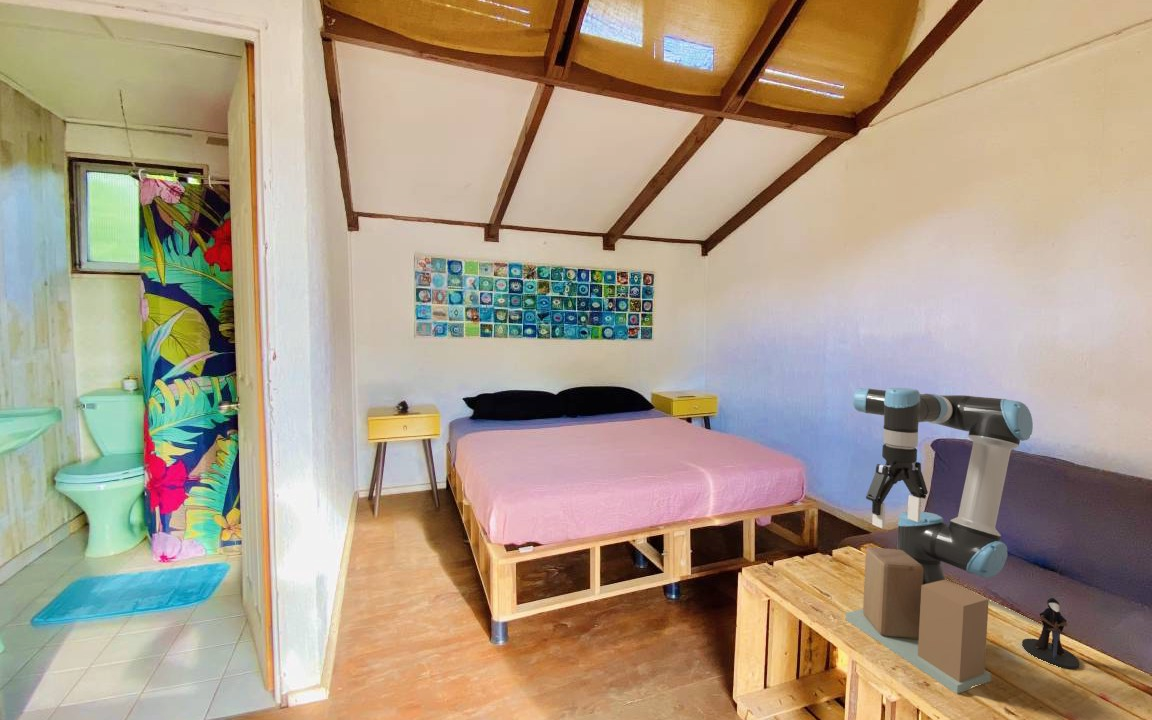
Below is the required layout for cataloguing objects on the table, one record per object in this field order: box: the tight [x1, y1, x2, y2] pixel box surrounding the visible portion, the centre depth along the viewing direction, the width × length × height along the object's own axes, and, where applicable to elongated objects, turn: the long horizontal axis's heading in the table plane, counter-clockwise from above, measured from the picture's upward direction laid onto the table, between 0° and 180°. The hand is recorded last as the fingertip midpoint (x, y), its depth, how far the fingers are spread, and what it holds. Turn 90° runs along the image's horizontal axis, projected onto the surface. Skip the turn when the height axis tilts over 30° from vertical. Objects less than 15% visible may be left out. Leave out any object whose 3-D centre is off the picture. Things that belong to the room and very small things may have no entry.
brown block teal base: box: [845, 578, 992, 695], centre depth 115 cm, size 12×28×20 cm, turn 19°
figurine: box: [1021, 597, 1081, 670], centre depth 113 cm, size 10×10×15 cm
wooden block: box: [862, 546, 924, 639], centre depth 120 cm, size 10×10×20 cm
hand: (896, 523), depth 119 cm, fingers open, 13 cm apart
